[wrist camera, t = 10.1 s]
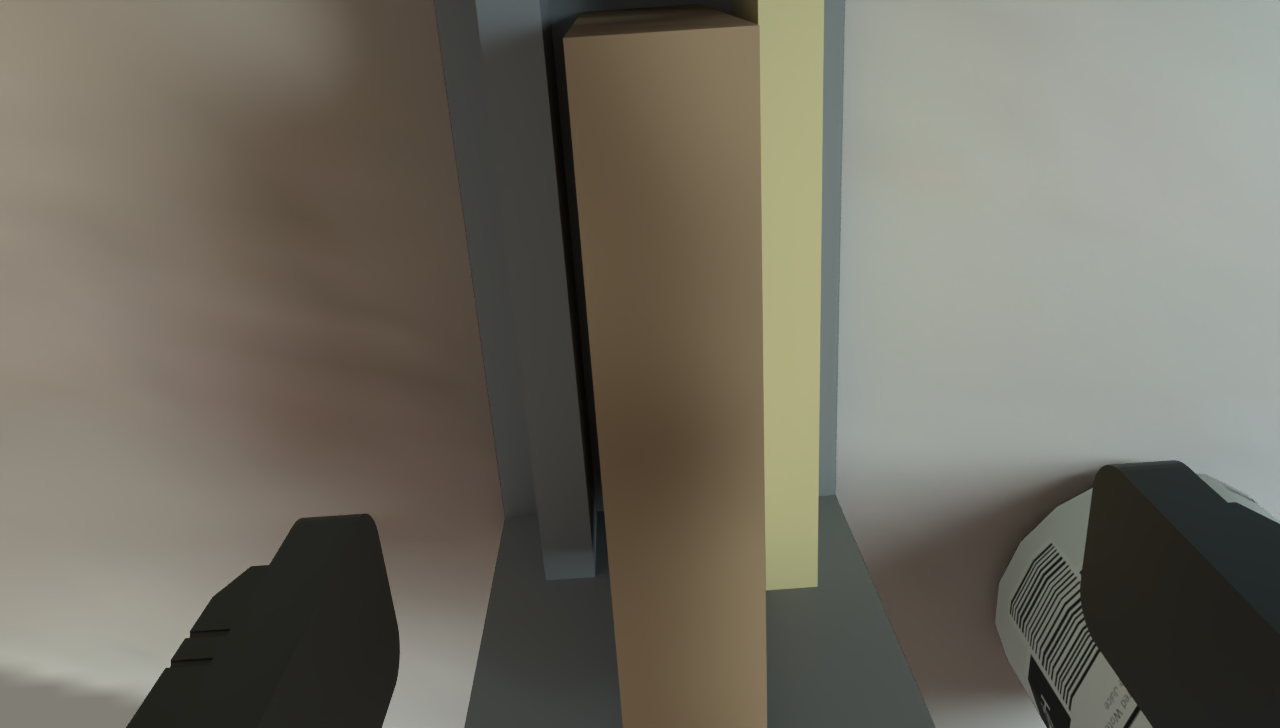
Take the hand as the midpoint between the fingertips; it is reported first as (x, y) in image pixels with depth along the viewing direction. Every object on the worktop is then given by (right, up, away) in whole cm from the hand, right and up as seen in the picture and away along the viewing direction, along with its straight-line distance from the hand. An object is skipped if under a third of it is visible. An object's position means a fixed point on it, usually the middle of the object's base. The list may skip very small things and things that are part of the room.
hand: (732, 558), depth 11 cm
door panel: (-1, +4, +12) cm, 13 cm away
